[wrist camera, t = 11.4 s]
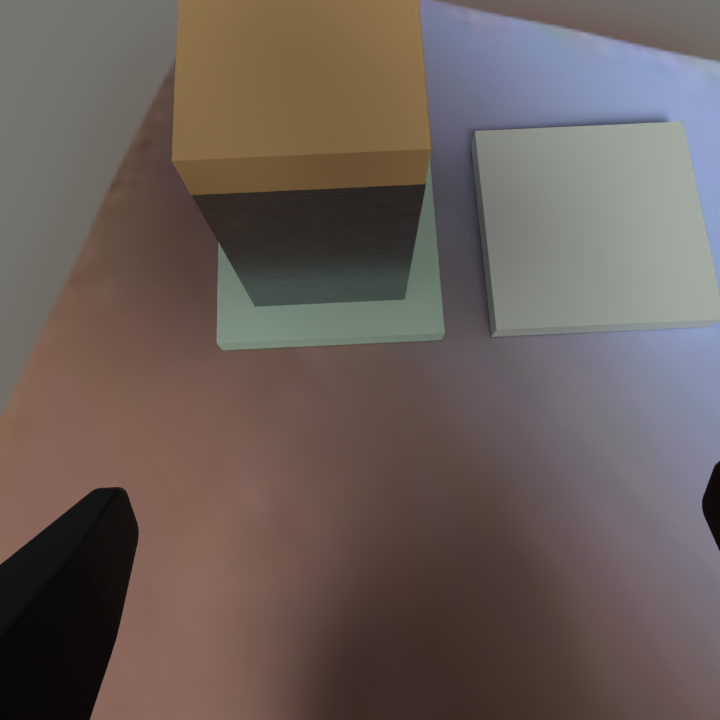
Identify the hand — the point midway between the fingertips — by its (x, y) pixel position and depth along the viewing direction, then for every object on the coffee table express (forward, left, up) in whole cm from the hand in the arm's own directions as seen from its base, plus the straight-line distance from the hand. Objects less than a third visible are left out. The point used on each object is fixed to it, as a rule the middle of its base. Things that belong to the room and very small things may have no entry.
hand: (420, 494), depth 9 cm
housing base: (+11, +3, -13) cm, 17 cm away
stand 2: (+12, -8, -14) cm, 20 cm away
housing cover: (+11, +3, -4) cm, 12 cm away
